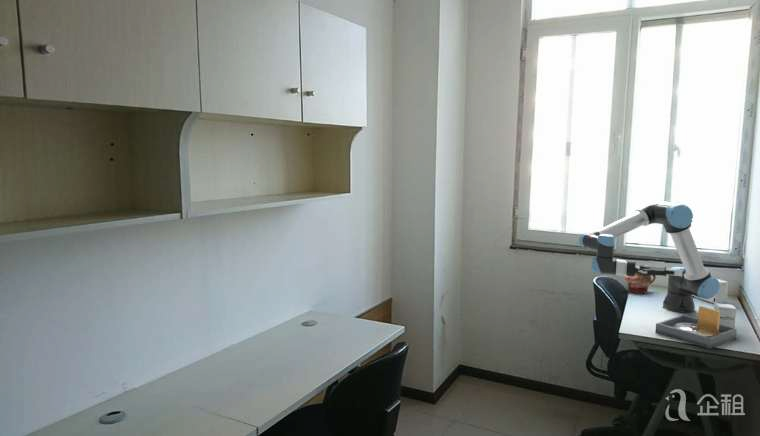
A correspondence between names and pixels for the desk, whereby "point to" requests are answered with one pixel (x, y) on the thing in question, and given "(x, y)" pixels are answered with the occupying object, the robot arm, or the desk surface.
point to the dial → (703, 323)
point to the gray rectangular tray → (669, 330)
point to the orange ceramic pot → (639, 282)
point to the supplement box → (726, 314)
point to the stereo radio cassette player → (719, 293)
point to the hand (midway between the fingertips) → (682, 273)
